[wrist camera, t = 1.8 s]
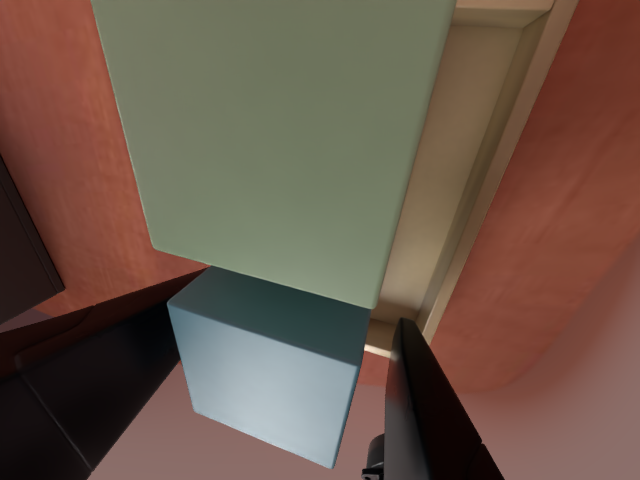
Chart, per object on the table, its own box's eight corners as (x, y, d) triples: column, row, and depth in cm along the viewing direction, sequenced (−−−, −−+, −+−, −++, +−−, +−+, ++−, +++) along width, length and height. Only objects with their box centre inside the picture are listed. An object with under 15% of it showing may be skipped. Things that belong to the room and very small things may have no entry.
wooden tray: (541, 14, 6) (587, -18, 5) (418, 329, 12) (420, 368, 10) (227, 4, 8) (179, -22, 7) (243, 280, 14) (219, 305, 12)
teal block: (387, 225, 10) (361, 366, 4) (367, 307, 11) (333, 471, 6) (285, 204, 10) (163, 302, 5) (282, 284, 12) (192, 412, 7)
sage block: (430, 49, 7) (483, -96, 2) (395, 193, 9) (375, 313, 4) (290, 40, 8) (67, -76, 3) (286, 173, 10) (151, 250, 5)
